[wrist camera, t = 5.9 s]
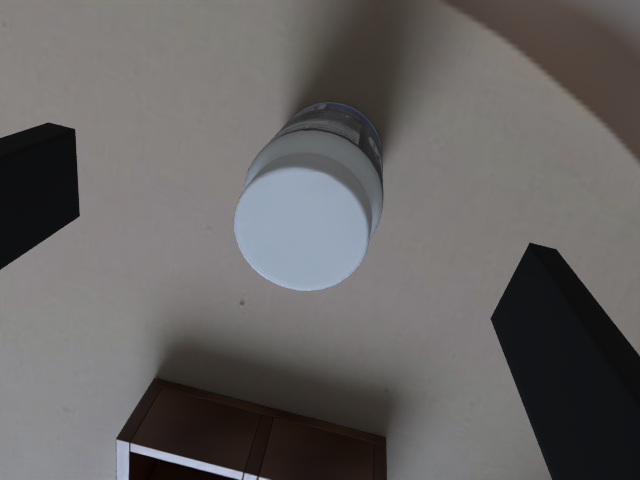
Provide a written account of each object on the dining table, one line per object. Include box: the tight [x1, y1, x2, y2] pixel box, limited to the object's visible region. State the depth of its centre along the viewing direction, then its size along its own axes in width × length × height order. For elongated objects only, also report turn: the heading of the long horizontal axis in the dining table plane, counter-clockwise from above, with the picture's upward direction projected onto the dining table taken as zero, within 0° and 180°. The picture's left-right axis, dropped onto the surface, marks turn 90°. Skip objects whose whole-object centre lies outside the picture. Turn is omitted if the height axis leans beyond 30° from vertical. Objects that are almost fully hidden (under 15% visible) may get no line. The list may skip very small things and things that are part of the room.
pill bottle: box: [234, 102, 383, 291], centre depth 16 cm, size 5×5×8 cm
